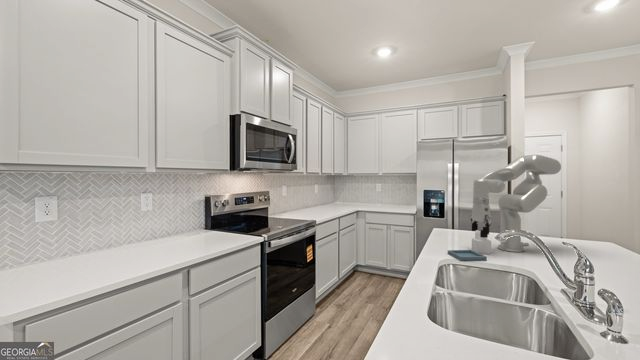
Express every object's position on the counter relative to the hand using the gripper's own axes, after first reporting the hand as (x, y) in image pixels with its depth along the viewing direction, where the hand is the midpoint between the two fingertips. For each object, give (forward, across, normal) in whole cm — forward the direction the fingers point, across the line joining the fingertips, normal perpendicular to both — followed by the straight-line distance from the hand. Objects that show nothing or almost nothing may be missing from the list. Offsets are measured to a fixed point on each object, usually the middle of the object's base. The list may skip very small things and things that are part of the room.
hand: (480, 232), depth 151 cm
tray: (+11, -9, +13) cm, 19 cm away
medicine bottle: (+11, 0, -1) cm, 11 cm away
